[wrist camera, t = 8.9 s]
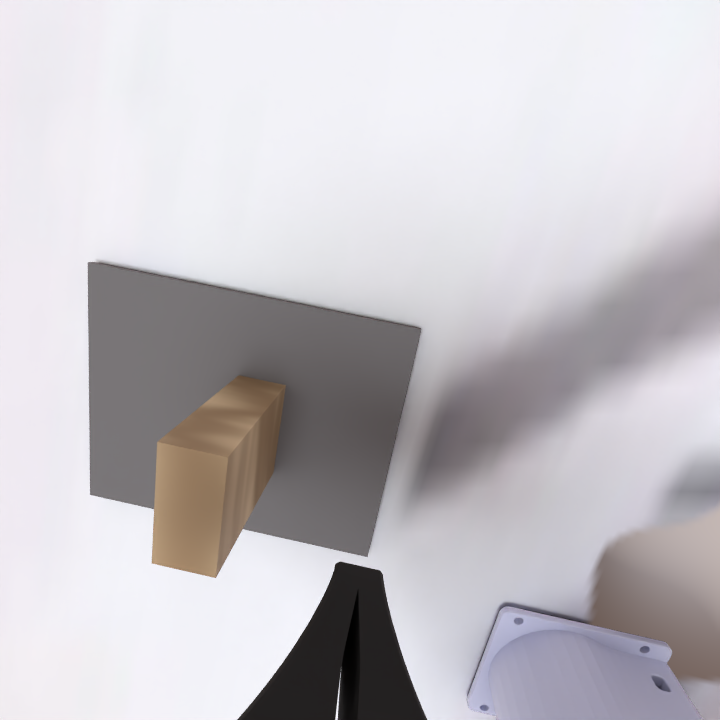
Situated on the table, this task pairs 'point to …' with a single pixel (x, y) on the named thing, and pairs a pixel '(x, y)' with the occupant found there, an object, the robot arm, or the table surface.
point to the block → (214, 474)
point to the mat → (254, 360)
